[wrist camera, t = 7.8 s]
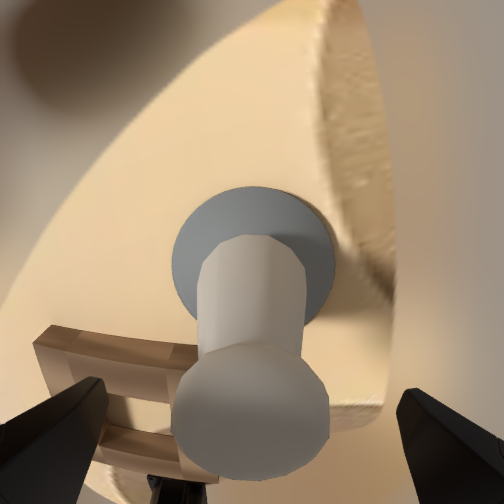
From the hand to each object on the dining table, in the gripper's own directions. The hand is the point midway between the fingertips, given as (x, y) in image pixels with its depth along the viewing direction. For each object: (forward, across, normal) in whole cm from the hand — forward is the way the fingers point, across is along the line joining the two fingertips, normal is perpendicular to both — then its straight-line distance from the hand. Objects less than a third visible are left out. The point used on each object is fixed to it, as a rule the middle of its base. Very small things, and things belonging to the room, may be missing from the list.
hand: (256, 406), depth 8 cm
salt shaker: (+12, 0, 0) cm, 12 cm away
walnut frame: (+12, +9, +13) cm, 20 cm away
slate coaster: (+12, 0, 0) cm, 12 cm away
